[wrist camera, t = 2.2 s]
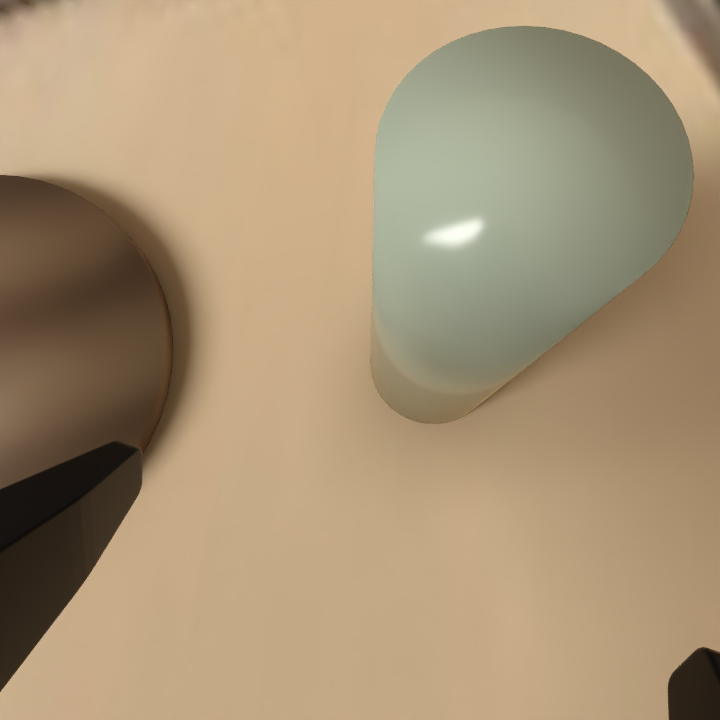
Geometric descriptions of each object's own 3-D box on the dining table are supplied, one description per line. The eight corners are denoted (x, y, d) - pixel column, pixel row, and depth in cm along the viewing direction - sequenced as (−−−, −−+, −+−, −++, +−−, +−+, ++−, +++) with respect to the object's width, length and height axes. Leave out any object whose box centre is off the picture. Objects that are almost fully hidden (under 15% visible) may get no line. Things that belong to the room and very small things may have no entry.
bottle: (518, 375, 22) (761, 185, 8) (420, 449, 21) (513, 372, 8) (441, 282, 23) (548, -22, 9) (346, 350, 22) (312, 129, 9)
